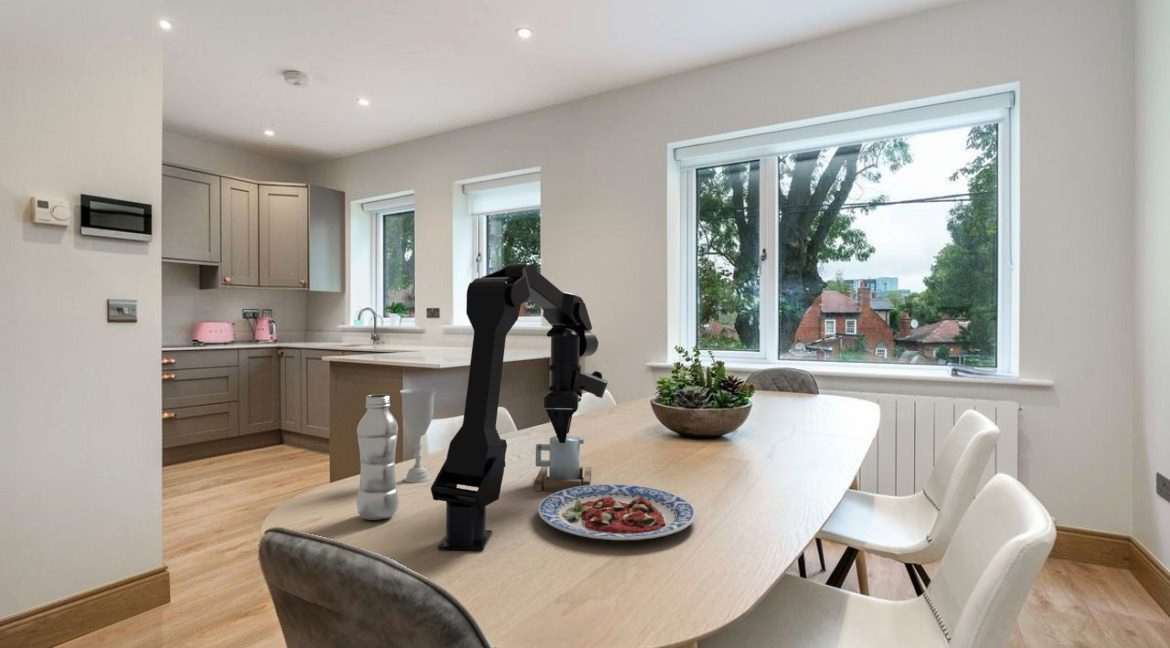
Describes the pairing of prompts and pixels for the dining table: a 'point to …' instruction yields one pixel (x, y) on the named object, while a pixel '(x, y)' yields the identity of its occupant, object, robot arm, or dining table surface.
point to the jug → (561, 457)
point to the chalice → (417, 425)
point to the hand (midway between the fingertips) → (564, 437)
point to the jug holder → (560, 481)
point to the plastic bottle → (377, 460)
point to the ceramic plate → (617, 512)
